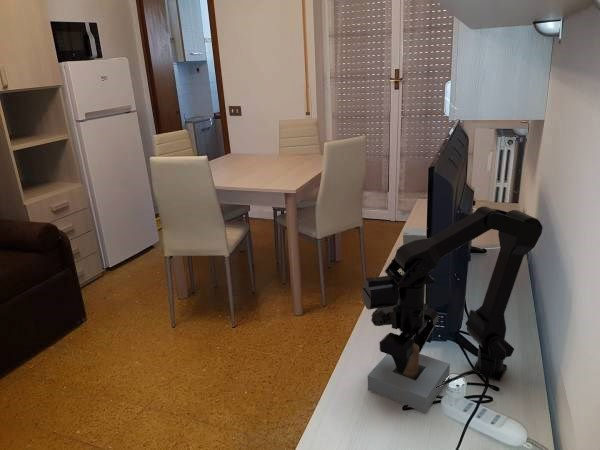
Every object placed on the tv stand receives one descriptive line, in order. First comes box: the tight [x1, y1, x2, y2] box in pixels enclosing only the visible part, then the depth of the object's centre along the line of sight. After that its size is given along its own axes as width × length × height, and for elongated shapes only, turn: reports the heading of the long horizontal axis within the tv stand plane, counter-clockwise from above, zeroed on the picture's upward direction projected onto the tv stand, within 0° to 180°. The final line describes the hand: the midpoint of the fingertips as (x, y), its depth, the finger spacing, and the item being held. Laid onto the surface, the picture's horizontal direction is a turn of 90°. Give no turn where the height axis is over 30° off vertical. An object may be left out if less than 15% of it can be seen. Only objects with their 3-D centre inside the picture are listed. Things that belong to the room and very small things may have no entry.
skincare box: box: [402, 227, 427, 245], centre depth 162 cm, size 8×7×16 cm
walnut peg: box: [400, 342, 420, 380], centre depth 107 cm, size 4×4×10 cm
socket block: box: [367, 353, 451, 414], centre depth 108 cm, size 14×14×4 cm
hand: (409, 362), depth 107 cm, fingers open, 9 cm apart
